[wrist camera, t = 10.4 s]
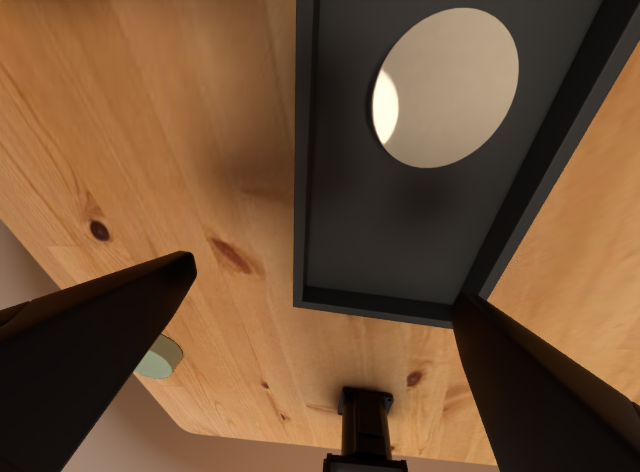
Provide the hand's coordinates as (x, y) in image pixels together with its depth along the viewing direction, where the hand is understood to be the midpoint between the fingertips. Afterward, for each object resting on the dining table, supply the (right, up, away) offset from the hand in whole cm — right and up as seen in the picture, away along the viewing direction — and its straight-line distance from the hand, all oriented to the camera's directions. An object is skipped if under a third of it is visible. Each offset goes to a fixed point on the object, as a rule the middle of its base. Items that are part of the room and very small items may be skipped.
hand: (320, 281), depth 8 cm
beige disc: (+6, +9, +5) cm, 12 cm away
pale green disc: (-21, -13, +23) cm, 34 cm away
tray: (+6, +6, +8) cm, 12 cm away
